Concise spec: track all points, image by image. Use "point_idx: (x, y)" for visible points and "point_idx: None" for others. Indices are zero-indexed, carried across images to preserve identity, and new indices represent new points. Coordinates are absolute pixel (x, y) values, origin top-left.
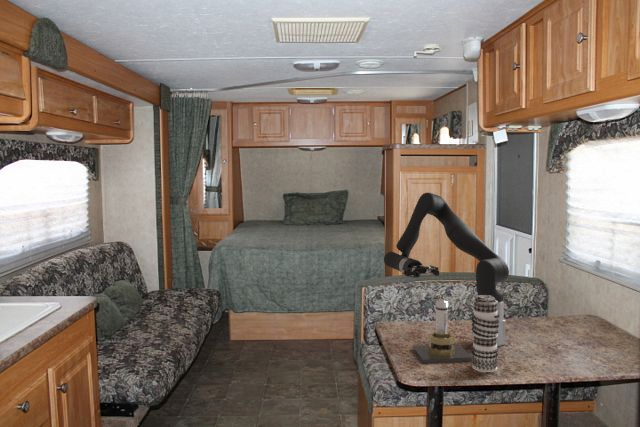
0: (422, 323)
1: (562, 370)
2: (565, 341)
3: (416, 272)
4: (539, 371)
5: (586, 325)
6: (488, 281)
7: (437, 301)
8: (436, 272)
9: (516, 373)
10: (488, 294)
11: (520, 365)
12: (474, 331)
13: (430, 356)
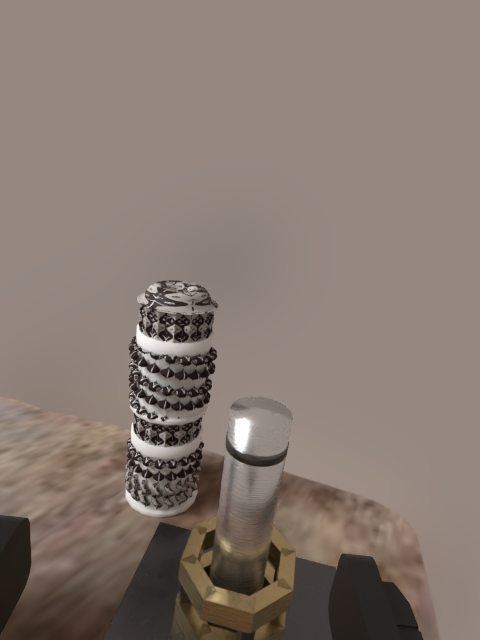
0: None
1: (7, 421)
2: None
3: (381, 596)
4: (59, 435)
5: None
6: None
7: (289, 413)
8: (19, 553)
9: (118, 446)
10: None
11: (60, 467)
12: (207, 396)
13: (297, 582)
